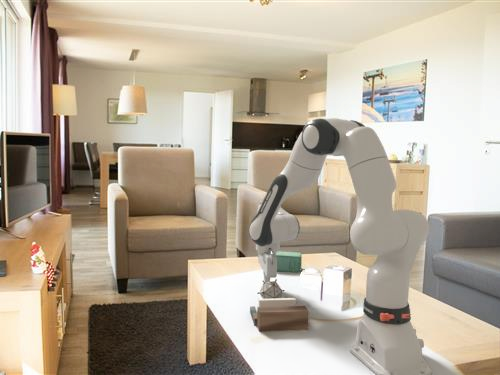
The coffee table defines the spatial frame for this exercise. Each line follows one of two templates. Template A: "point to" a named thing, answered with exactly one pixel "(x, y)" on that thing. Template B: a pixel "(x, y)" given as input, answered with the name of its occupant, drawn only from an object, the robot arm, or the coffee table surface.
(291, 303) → the pad
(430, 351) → the coffee table surface
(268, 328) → the brown piece
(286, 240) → the robot arm
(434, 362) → the coffee table surface
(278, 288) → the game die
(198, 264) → the coffee table surface
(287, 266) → the box
